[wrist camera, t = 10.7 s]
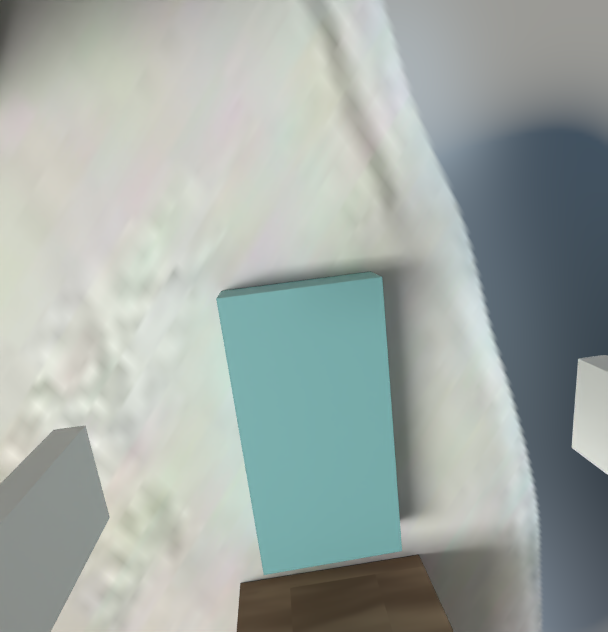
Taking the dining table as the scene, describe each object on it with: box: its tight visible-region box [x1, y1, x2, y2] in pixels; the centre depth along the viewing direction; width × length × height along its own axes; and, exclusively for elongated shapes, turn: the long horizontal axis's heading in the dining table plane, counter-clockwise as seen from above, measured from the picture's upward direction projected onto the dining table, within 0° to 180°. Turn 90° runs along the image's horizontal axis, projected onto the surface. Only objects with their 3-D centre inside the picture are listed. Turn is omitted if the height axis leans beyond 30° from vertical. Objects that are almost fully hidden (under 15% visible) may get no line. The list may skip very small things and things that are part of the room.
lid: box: [216, 272, 402, 575], centre depth 25 cm, size 18×9×3 cm, turn 7°
